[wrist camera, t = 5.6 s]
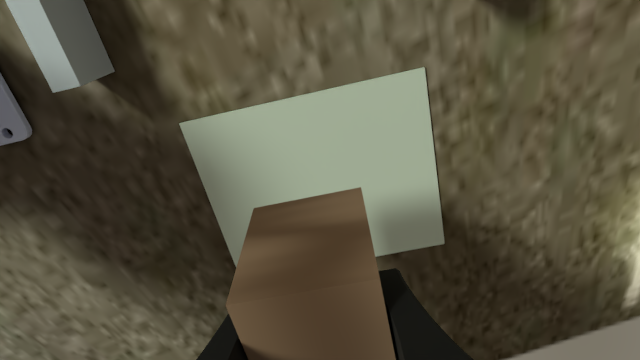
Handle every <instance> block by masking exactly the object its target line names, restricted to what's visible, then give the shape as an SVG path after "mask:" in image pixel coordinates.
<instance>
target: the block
mask: <svg viewBox="0 0 640 360" xmlns="http://www.w3.org/2000/svg"><path fill="white" fill-rule="evenodd" d="M225 306H226V308H227V310H228V313H229V315H230V317H231V320H232V322H233V325H234V327H235V329H236V332H237V334H238V336H239V339H240V341H241V344H242V346H243V348H244V351H245V353H246V355H247V358H248V360H396V358H395V353H394V348H393V343H392V338H391V333H390V328H389V323H388V318H387V312H386V307H385V302H384V297H383V292H382V287H381V282H380V277H379V272H378V267H377V262H376V257H375V253H374V248H373V243H372V238H371V233H370V228H369V224H368V219H367V214H366V209H365V204H364V199H363V195H362V190H361V187H359V188H354V189H349V190H344V191H339V192H334V193H328V194H323V195H318V196H313V197H308V198H303V199H298V200H293V201H288V202H282V203H277V204H272V205H267V206H262V207H257V208H254V209H253V212H252V216H251V219H250V223H249V226H248V229H247V233H246V236H245V240H244V243H243V247H242V250H241V254H240V257H239V260H238V264H237V267H236V271H235V274H234V278H233V281H232V285H231V288H230V292H229V295H228V298H227V302H226V305H225Z"/></svg>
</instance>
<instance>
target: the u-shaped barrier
mask: <svg viewBox="0 0 640 360" xmlns="http://www.w3.org/2000/svg"><path fill="white" fill-rule="evenodd" d="M5 1H6V3H7V5H8V7H9V9H10V11H11V13H12V15H13V17H14V19H15V20H16V22H17V24H18V26H19V28H20V30H21V32H22V34H23V36H24V38H25V40H26V42H27V44H28V46H29V47H30V49H31V51H32V53H33V55H34V57H35V59H36V61H37V63H38V65H39V67H40V69H41V71H42V72H43V74H44V76H45V78H46V80H47V82H48V84H49V86H50V88H51V90H52V92H53V93H55V92H59V91H63V90H67V89H71V88H75V87H79V86H82V85H85V84H87V83H89V82H92V81H94V80H96V79H99V78H101V77H103V76H106V75H108V74H110V73H113V72H115V70H114V68H113V66H112V64H111V61H110V59H109V57H108V55H107V52H106V50H105V48H104V45H103V43H102V41H101V39H100V36H99V34H98V32H97V30H96V27H95V25H94V23H93V21H92V18H91V16H90V14H89V12H88V9H87V7H86V5H85V2H84V0H5Z"/></svg>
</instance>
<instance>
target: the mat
mask: <svg viewBox="0 0 640 360" xmlns="http://www.w3.org/2000/svg"><path fill="white" fill-rule="evenodd" d="M179 125H180V127H181V130H182V132H183V135H184V138H185V140H186V143H187V145H188V148H189V150H190V153H191V155H192V158H193V160H194V163H195V165H196V168H197V170H198V173H199V175H200V178H201V181H202V183H203V186H204V188H205V191H206V193H207V196H208V198H209V201H210V203H211V206H212V208H213V211H214V213H215V216H216V218H217V221H218V223H219V226H220V229H221V231H222V234H223V236H224V239H225V241H226V244H227V246H228V249H229V251H230V254H231V256H232V259H233V261H234V264H235V266H236V267H237V264H238V260H239V257H240V254H241V250H242V247H243V243H244V240H245V236H246V233H247V229H248V226H249V223H250V219H251V216H252V212H253V209H254V208H257V207H262V206H267V205H272V204H277V203H282V202H288V201H293V200H298V199H303V198H308V197H313V196H318V195H323V194H328V193H334V192H339V191H344V190H349V189H354V188H359V187H361V190H362V195H363V199H364V204H365V209H366V214H367V219H368V224H369V228H370V233H371V238H372V243H373V248H374V253H375V257H376V256H382V255H387V254H393V253H398V252H403V251H409V250H414V249H419V248H425V247H430V246H436V245H441V244H445V242H444V233H443V224H442V215H441V206H440V198H439V189H438V180H437V171H436V162H435V154H434V145H433V136H432V127H431V118H430V110H429V101H428V92H427V83H426V74H425V67H422V68H418V69H414V70H409V71H405V72H400V73H396V74H392V75H387V76H383V77H379V78H374V79H370V80H365V81H361V82H357V83H352V84H348V85H344V86H339V87H335V88H330V89H326V90H322V91H317V92H313V93H309V94H304V95H300V96H295V97H291V98H287V99H282V100H278V101H274V102H269V103H265V104H260V105H256V106H252V107H247V108H243V109H238V110H234V111H230V112H225V113H221V114H217V115H212V116H208V117H203V118H199V119H195V120H190V121H186V122H182V123H179Z"/></svg>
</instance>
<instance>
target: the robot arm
mask: <svg viewBox="0 0 640 360" xmlns="http://www.w3.org/2000/svg"><path fill="white" fill-rule="evenodd" d="M7 128H8V129H10V130H11V131H12V133H13V135H11V134H9V133H8V131H7ZM31 134H32V129H31V126H30V124H29V123H28V121H27V119H26V117H25V116H24V114H23V112H22V110H21V109H20V107H19V105H18V103H17V101H16V100H15V98H14V96H13V94H12V93H11V91H10V89H9V87H8V85H7V84H6V82H5V80H4V78H3V77H2V75H1V73H0V146H1V145H5V144H9V143H14V142H18V141H22V140H25V139H27V138H28V137H30V136H31ZM378 272H379V277H380V282H381V287H382V292H383V297H384V302H385V307H386V312H387V318H388V323H389V328H390V333H391V338H392V343H393V348H394V353H395V358H396V360H473V359H472V358H471V357H470V356H469V355H468V354H467V353H465V352H464V351H463V350H462V349H461V348H460V347H459V346H458V345H457V344H456V343H455V342H454V341H453V340H452V339H451V338H450V337H449V336H448V335H447V334H446V333H445V332H444V331H443V330H442V329H441V328H440V326H439V325H438V324H437V323H436V322H435V321H434V320H433V319H432V317H431V316H430V315H429V314H428V313H427V311H426V310H425V309H424V308H423V306H422V305H421V304H420V303H419V301H418V300H417V299H416V297H415V296H414V294H413V293H412V291H411V290H410V289H409V287H408V285H407V284H406V282H405V281H404V279H403V277H402V275H401V273H400V271H399V270H398V269H396V268H395V269H389V270H384V271H378ZM196 360H248V358H247V355H246V353H245V351H244V348H243V346H242V344H241V341H240V339H239V336H238V334H237V332H236V329H235V327H234V325H233V322H232V320H231V317H230V315H229V314H228V315H227V317H226V318H225V320H224V321H223V323H222V324H221V326H220V327H219V329H218V330H217V332H216V333H215V335H214V336H213V337H212V339H211V340H210V342H209V343H208V345H207V346H206V347H205V349H204V350H203V352H202V353H201V354H200V356H199V357H198V358H197V359H196Z"/></svg>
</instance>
